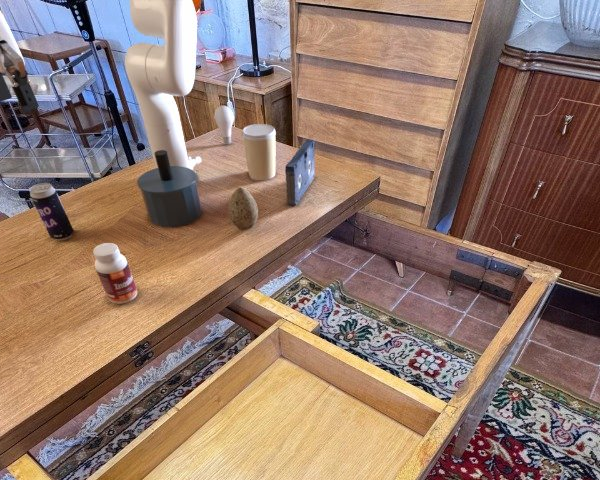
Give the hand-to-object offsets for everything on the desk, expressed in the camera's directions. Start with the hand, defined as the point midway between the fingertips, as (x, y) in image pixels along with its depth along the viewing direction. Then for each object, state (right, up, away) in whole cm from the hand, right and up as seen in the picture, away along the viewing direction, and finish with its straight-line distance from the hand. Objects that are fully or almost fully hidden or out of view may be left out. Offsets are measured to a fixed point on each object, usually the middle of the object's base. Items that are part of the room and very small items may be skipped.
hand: (17, 104), depth 87 cm
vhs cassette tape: (+56, 0, +37) cm, 67 cm away
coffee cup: (+45, +8, +44) cm, 63 cm away
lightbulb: (+32, +26, +58) cm, 71 cm away
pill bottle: (+18, -36, +7) cm, 41 cm away
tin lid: (+23, -4, +23) cm, 32 cm away
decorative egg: (+42, -15, +24) cm, 51 cm away
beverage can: (-3, -18, +23) cm, 29 cm away
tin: (+23, -9, +29) cm, 38 cm away
